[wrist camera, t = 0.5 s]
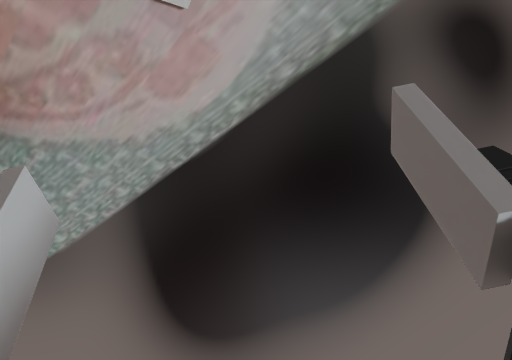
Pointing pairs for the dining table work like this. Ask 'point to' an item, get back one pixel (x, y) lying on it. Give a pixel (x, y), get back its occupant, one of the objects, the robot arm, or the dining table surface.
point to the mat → (179, 3)
